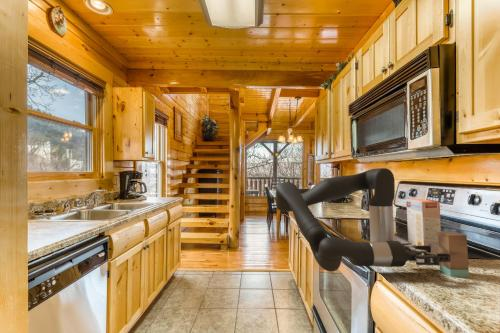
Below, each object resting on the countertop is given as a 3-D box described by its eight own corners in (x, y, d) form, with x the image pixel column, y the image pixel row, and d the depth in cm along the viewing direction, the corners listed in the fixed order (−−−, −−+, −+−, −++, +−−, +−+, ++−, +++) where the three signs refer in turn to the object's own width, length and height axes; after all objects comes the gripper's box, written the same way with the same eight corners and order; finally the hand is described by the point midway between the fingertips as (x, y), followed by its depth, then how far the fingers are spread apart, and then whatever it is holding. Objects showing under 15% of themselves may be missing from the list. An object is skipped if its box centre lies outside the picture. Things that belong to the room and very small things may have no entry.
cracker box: (444, 263, 88) (440, 201, 89) (424, 262, 89) (420, 201, 90) (425, 252, 102) (422, 198, 103) (408, 251, 103) (405, 198, 104)
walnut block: (454, 231, 82) (457, 270, 81) (437, 231, 82) (439, 270, 81) (466, 235, 77) (469, 276, 76) (448, 235, 77) (450, 276, 76)
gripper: (375, 258, 87) (425, 258, 86) (397, 274, 73) (457, 274, 72) (374, 235, 87) (424, 235, 86) (396, 247, 73) (456, 247, 72)
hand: (439, 253), depth 79 cm, fingers open, 8 cm apart
